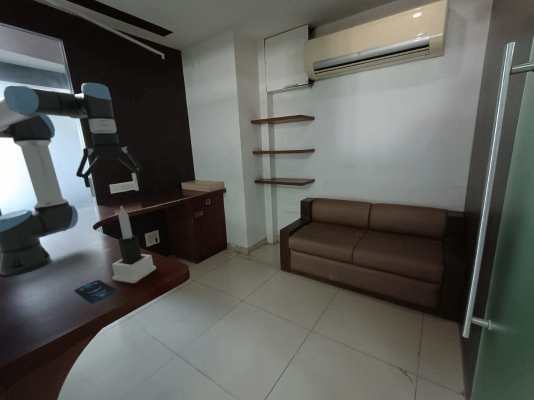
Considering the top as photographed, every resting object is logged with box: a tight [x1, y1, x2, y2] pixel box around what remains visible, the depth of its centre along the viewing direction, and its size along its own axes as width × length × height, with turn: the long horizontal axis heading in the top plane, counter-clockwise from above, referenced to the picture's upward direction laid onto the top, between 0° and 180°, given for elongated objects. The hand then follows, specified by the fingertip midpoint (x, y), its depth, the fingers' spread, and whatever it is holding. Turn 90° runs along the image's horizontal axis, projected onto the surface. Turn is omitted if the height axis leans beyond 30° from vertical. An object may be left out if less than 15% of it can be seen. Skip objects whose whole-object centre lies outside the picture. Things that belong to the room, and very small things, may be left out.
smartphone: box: [74, 279, 118, 305], centre depth 78 cm, size 8×1×15 cm
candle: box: [118, 205, 142, 265], centre depth 84 cm, size 5×5×25 cm
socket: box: [111, 253, 157, 284], centre depth 86 cm, size 10×10×6 cm
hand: (116, 193), depth 86 cm, fingers open, 13 cm apart
